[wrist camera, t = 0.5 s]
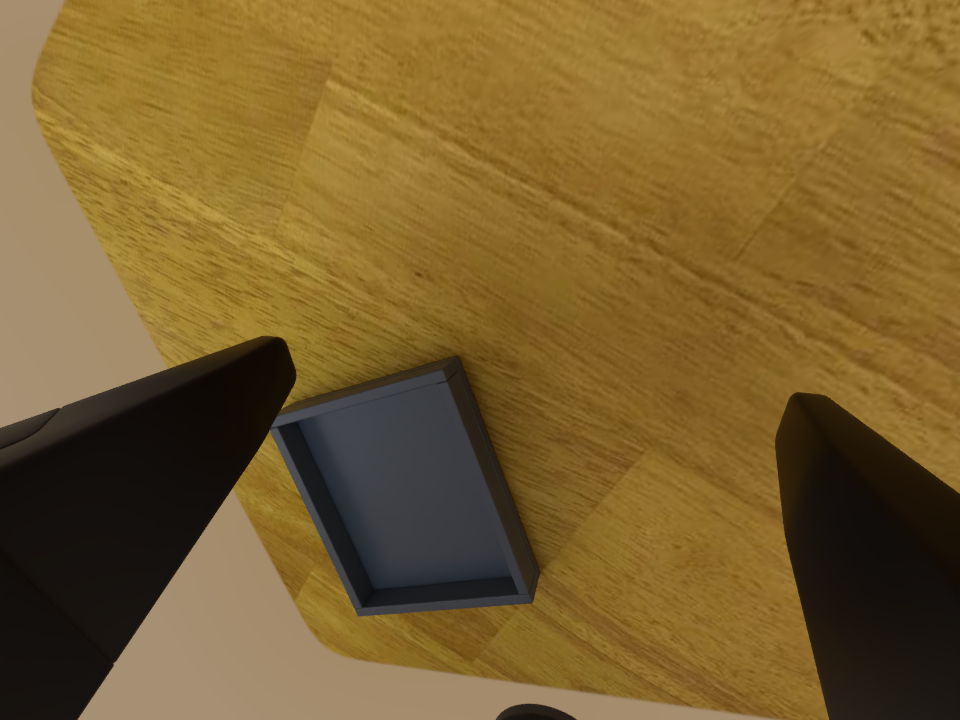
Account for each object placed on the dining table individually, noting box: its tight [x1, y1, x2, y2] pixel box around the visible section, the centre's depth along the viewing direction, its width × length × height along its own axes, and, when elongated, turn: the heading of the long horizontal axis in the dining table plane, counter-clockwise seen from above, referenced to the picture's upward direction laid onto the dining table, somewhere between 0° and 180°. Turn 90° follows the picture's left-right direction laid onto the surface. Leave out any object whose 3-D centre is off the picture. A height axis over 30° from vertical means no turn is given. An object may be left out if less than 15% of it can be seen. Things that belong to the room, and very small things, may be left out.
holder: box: [270, 356, 540, 616], centre depth 27 cm, size 13×11×2 cm
